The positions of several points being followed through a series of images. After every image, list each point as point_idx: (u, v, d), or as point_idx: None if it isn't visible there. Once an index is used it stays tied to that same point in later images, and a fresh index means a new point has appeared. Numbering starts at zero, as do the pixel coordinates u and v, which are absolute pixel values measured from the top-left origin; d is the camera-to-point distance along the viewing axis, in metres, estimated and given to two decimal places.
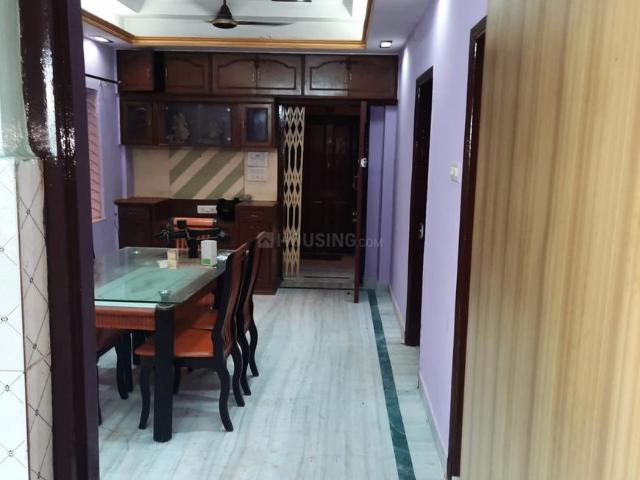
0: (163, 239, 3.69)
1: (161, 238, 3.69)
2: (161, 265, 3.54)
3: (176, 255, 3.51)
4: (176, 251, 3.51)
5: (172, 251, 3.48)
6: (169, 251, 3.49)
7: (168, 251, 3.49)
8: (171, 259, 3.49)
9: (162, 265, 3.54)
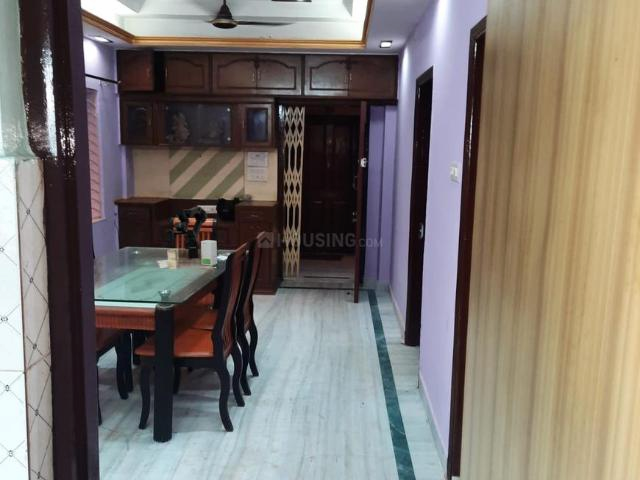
0: (188, 239, 3.63)
1: (187, 239, 3.62)
2: (161, 265, 3.54)
3: (176, 255, 3.51)
4: (176, 251, 3.51)
5: (172, 251, 3.48)
6: (169, 251, 3.49)
7: (168, 251, 3.49)
8: (171, 259, 3.49)
9: (162, 265, 3.54)
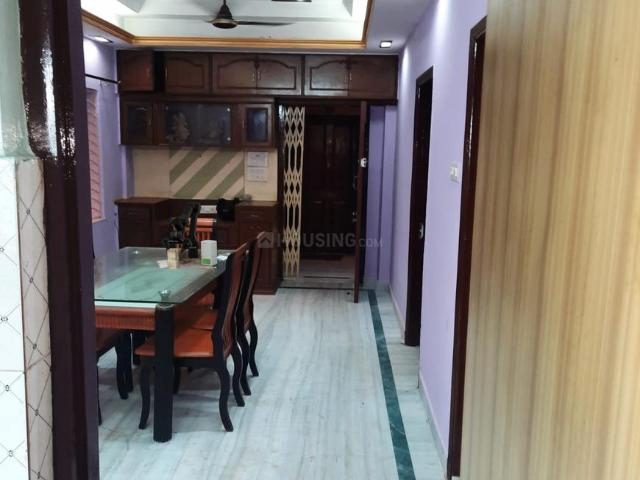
0: (184, 248, 3.56)
1: (183, 249, 3.54)
2: (161, 265, 3.54)
3: (176, 255, 3.51)
4: (176, 251, 3.51)
5: (172, 251, 3.48)
6: (169, 251, 3.49)
7: (168, 251, 3.49)
8: (171, 259, 3.49)
9: (162, 265, 3.54)
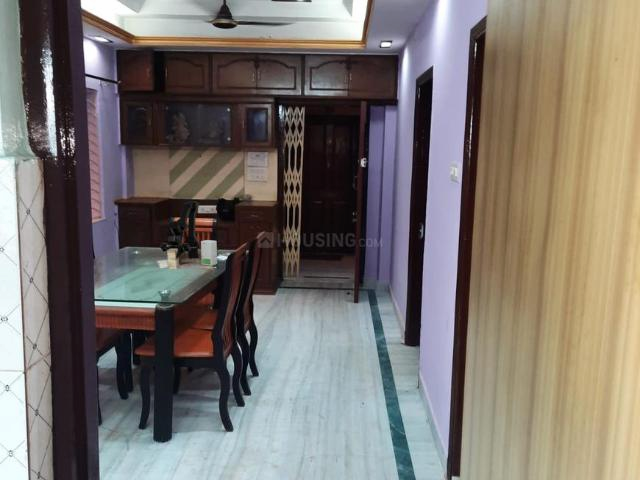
0: (180, 253, 3.53)
1: (179, 254, 3.52)
2: (161, 265, 3.54)
3: None
4: (176, 251, 3.51)
5: (172, 251, 3.48)
6: (169, 251, 3.49)
7: (168, 251, 3.49)
8: (171, 259, 3.49)
9: (162, 265, 3.54)
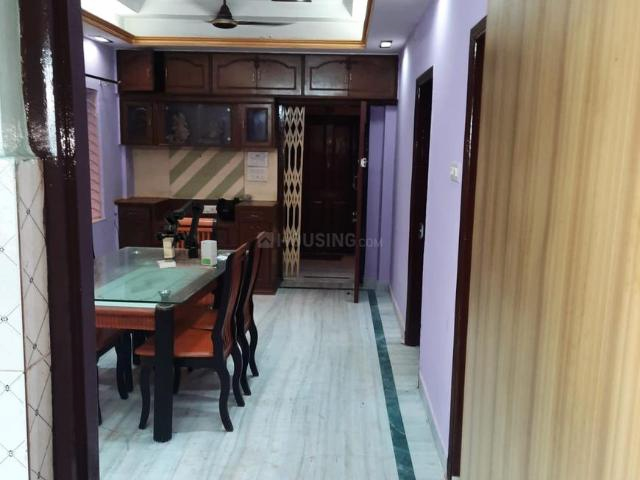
0: (176, 242, 3.56)
1: (175, 242, 3.55)
2: (161, 265, 3.54)
3: None
4: (172, 240, 3.54)
5: (168, 240, 3.51)
6: (165, 240, 3.51)
7: (164, 240, 3.51)
8: (167, 248, 3.52)
9: (162, 265, 3.54)
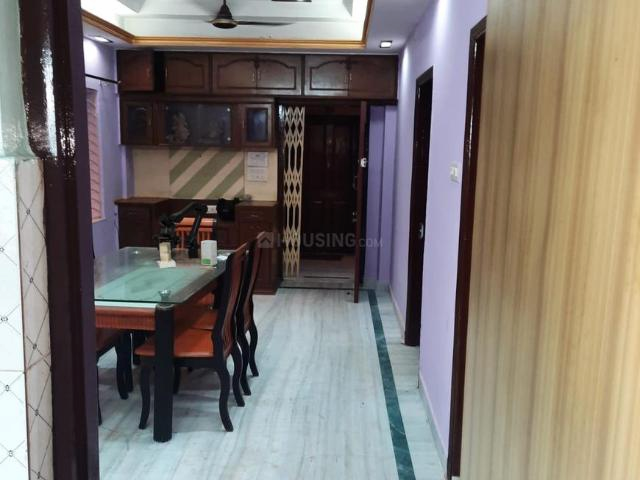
0: (174, 245, 3.60)
1: (173, 245, 3.58)
2: (161, 265, 3.54)
3: (168, 249, 3.58)
4: (168, 245, 3.58)
5: (164, 245, 3.55)
6: (161, 245, 3.55)
7: (160, 245, 3.56)
8: (163, 252, 3.56)
9: (162, 265, 3.54)
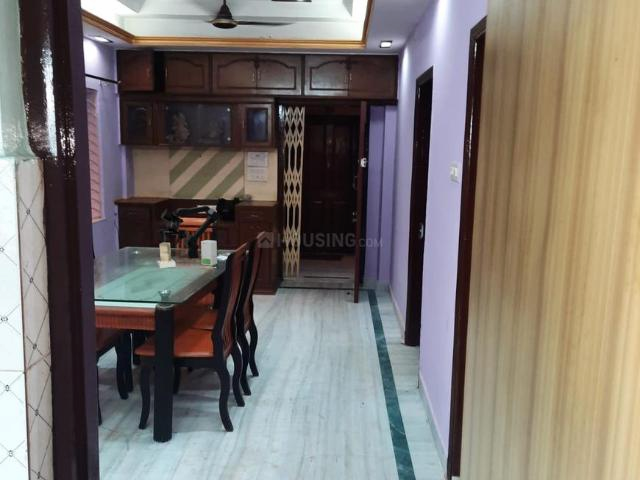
0: (180, 238, 3.68)
1: (179, 239, 3.66)
2: (161, 265, 3.54)
3: (168, 249, 3.58)
4: (168, 245, 3.58)
5: (164, 245, 3.55)
6: (161, 245, 3.55)
7: (160, 245, 3.56)
8: (163, 252, 3.56)
9: (162, 265, 3.54)
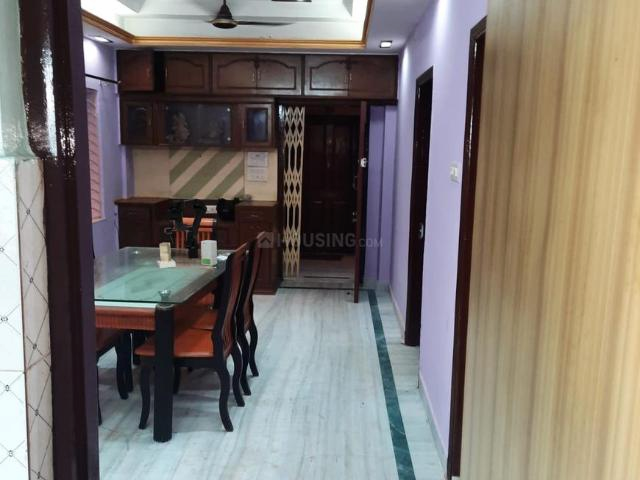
0: None
1: None
2: (161, 265, 3.54)
3: (168, 249, 3.58)
4: (168, 245, 3.58)
5: (164, 245, 3.55)
6: (161, 245, 3.55)
7: (160, 245, 3.56)
8: (163, 252, 3.56)
9: (162, 265, 3.54)
